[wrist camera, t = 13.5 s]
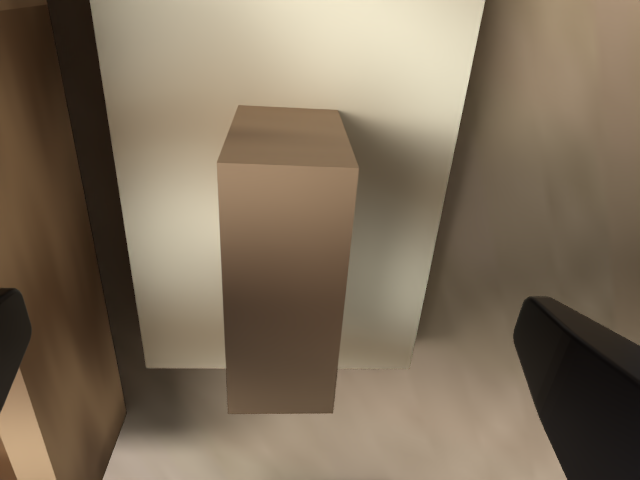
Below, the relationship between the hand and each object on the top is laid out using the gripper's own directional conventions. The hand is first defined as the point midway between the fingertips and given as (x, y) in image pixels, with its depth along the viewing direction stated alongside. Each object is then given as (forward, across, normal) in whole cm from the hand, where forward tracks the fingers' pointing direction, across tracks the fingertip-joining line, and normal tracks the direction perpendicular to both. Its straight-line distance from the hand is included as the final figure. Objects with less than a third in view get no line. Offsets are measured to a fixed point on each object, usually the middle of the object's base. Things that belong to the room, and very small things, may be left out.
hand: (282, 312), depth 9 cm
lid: (+7, 0, -2) cm, 7 cm away
